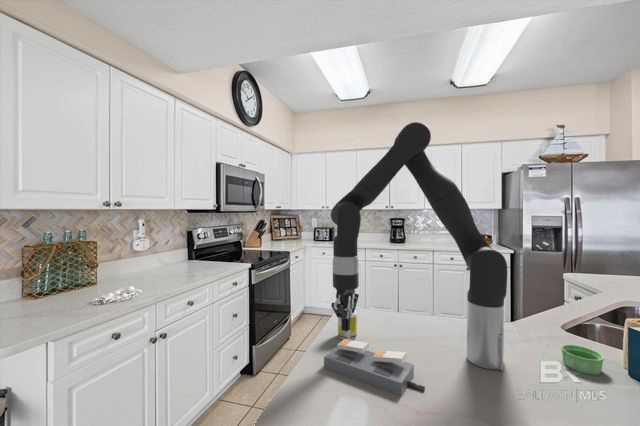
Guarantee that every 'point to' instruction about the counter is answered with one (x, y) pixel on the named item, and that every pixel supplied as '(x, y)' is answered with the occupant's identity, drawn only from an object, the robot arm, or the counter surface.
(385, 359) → the block
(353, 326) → the pill bottle
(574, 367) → the ramekin
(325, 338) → the counter surface
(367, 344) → the rocker outer
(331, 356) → the power strip
